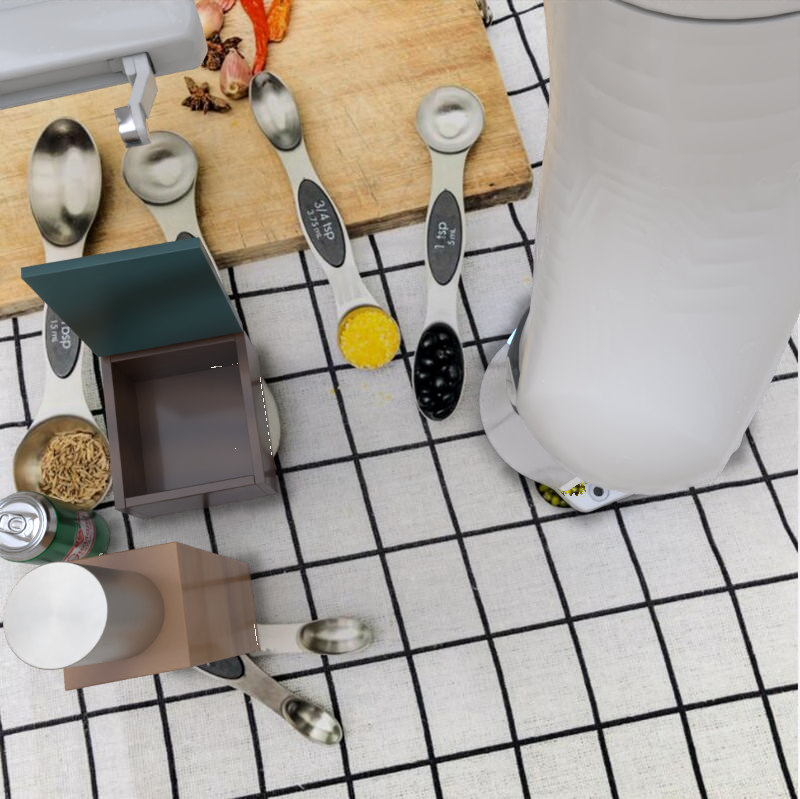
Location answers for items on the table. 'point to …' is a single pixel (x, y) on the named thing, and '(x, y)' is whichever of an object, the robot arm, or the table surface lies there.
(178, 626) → the stand
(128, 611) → the tin
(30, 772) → the table surface
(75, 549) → the soda can
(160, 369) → the chest
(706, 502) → the table surface
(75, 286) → the hatch
